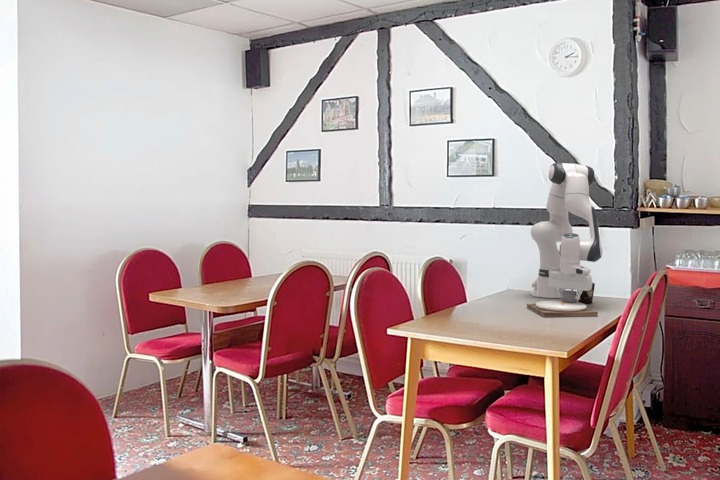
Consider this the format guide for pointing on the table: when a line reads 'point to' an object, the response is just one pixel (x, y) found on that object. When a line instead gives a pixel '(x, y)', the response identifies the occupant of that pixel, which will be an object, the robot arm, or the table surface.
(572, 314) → the base
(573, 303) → the dial
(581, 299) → the coffee mug
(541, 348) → the table surface
